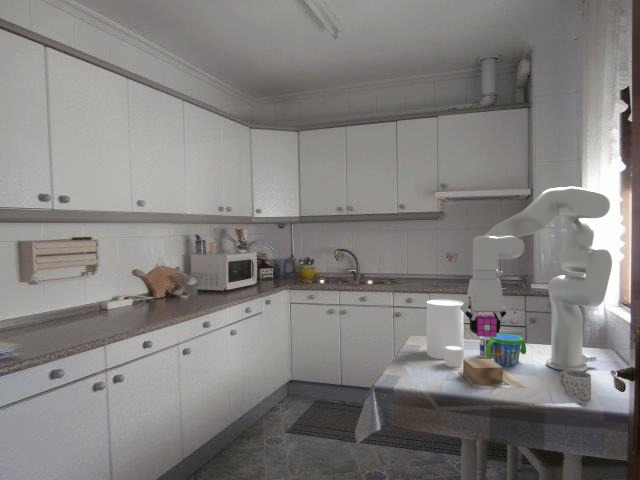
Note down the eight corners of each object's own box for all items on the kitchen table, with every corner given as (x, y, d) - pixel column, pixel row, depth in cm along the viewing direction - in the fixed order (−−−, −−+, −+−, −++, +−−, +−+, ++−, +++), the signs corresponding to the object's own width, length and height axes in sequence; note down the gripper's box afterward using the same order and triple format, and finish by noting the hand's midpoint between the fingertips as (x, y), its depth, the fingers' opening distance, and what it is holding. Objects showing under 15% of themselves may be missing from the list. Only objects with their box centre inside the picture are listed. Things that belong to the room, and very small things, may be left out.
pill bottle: (497, 355, 172) (497, 329, 172) (494, 359, 168) (494, 332, 167) (481, 353, 175) (481, 327, 175) (478, 357, 171) (478, 330, 170)
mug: (596, 400, 129) (596, 376, 128) (576, 402, 127) (576, 378, 127) (570, 387, 138) (570, 366, 138) (551, 389, 137) (551, 367, 137)
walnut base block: (490, 373, 149) (490, 358, 148) (502, 383, 140) (502, 367, 139) (463, 374, 148) (463, 359, 148) (473, 384, 139) (473, 368, 139)
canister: (463, 360, 166) (463, 306, 166) (425, 358, 170) (425, 304, 169) (463, 350, 179) (463, 300, 179) (427, 348, 183) (427, 298, 182)
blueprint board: (503, 372, 152) (503, 369, 152) (527, 390, 136) (527, 386, 136) (453, 374, 152) (453, 370, 152) (471, 391, 136) (471, 387, 136)
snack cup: (516, 359, 167) (516, 331, 167) (535, 368, 157) (535, 338, 157) (477, 362, 164) (477, 334, 164) (495, 371, 154) (495, 341, 153)
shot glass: (465, 371, 155) (465, 350, 154) (444, 370, 156) (444, 349, 156) (463, 365, 161) (463, 345, 161) (443, 364, 163) (443, 344, 163)
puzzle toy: (492, 332, 146) (492, 314, 146) (496, 336, 140) (496, 318, 140) (473, 332, 147) (473, 314, 146) (477, 336, 141) (477, 318, 141)
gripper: (507, 273, 147) (506, 329, 148) (454, 274, 146) (453, 329, 147) (518, 276, 140) (517, 334, 140) (462, 276, 139) (462, 335, 139)
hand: (484, 331), depth 143 cm, fingers closed on puzzle toy, 6 cm apart
